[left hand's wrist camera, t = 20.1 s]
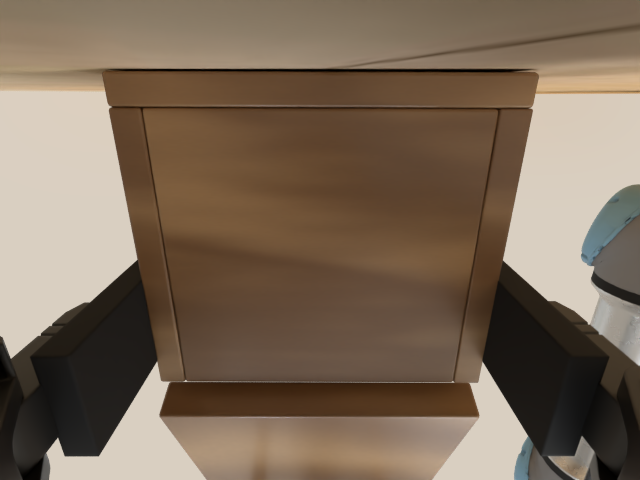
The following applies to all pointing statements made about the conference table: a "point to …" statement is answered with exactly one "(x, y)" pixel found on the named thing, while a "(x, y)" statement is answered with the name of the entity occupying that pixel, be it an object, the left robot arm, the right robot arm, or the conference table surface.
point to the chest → (320, 218)
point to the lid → (319, 428)
